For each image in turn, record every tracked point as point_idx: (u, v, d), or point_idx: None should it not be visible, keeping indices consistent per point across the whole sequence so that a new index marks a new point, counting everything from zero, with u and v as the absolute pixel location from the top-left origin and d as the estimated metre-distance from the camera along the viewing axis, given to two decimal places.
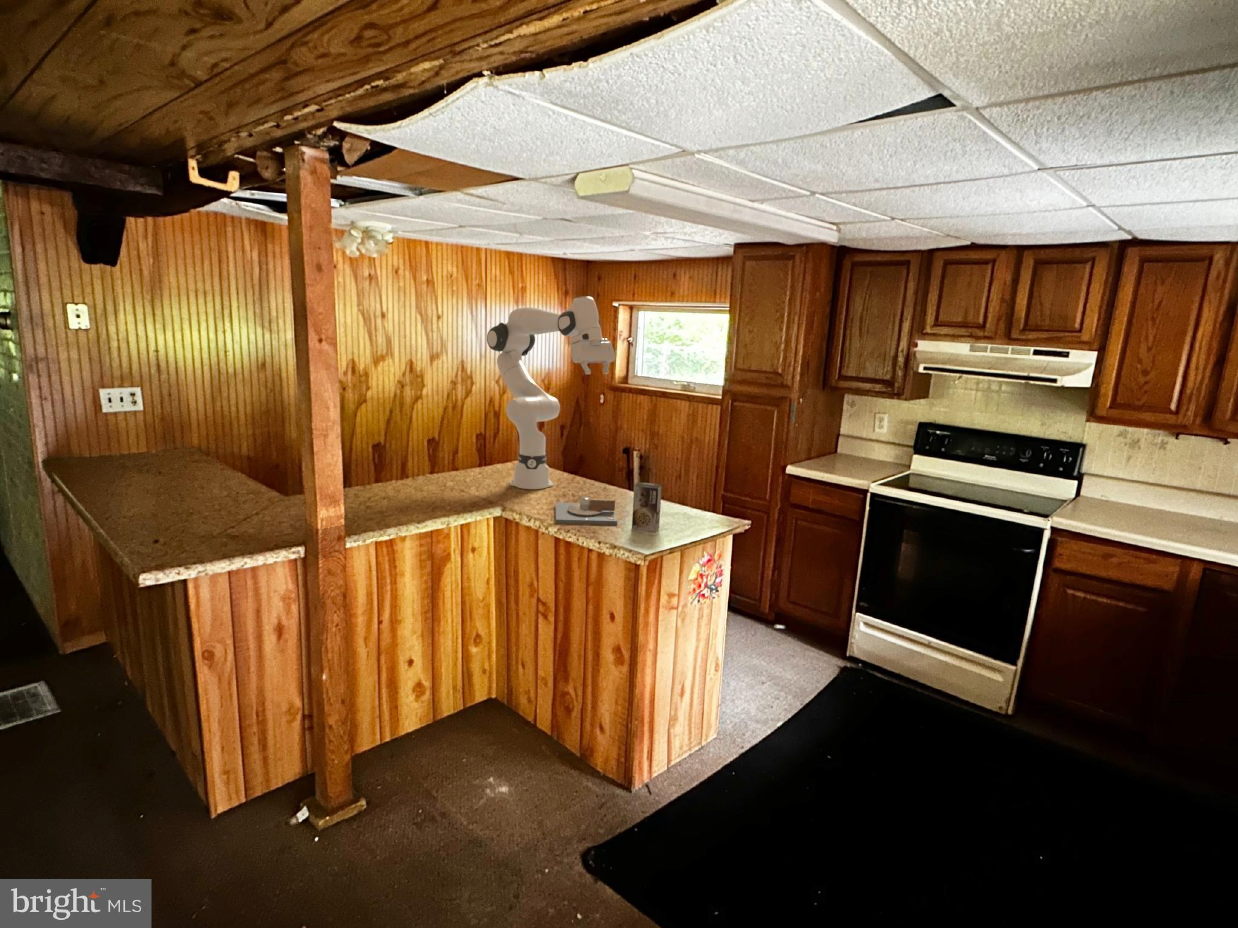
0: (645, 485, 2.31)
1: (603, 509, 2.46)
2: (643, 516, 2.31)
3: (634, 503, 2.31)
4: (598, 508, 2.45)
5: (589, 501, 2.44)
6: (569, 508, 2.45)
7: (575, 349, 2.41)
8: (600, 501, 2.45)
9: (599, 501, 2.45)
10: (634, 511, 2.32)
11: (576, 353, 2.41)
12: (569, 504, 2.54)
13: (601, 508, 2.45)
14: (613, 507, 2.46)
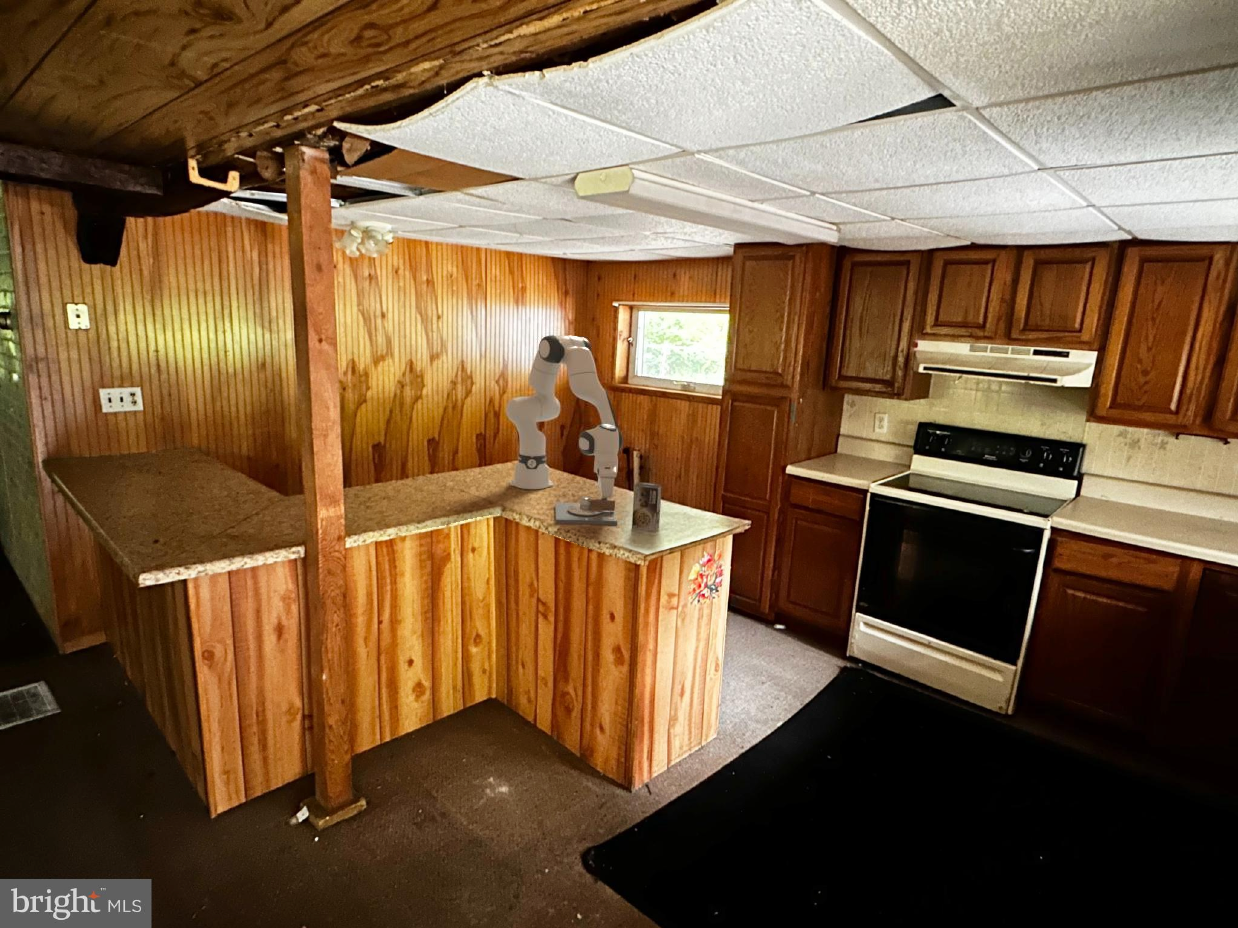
0: (645, 485, 2.31)
1: (603, 509, 2.46)
2: (643, 516, 2.31)
3: (634, 503, 2.31)
4: (598, 508, 2.45)
5: (589, 501, 2.44)
6: (569, 508, 2.45)
7: (609, 486, 2.37)
8: (600, 501, 2.45)
9: (599, 501, 2.45)
10: (634, 511, 2.32)
11: (610, 490, 2.37)
12: (569, 504, 2.54)
13: (601, 508, 2.45)
14: (613, 507, 2.46)
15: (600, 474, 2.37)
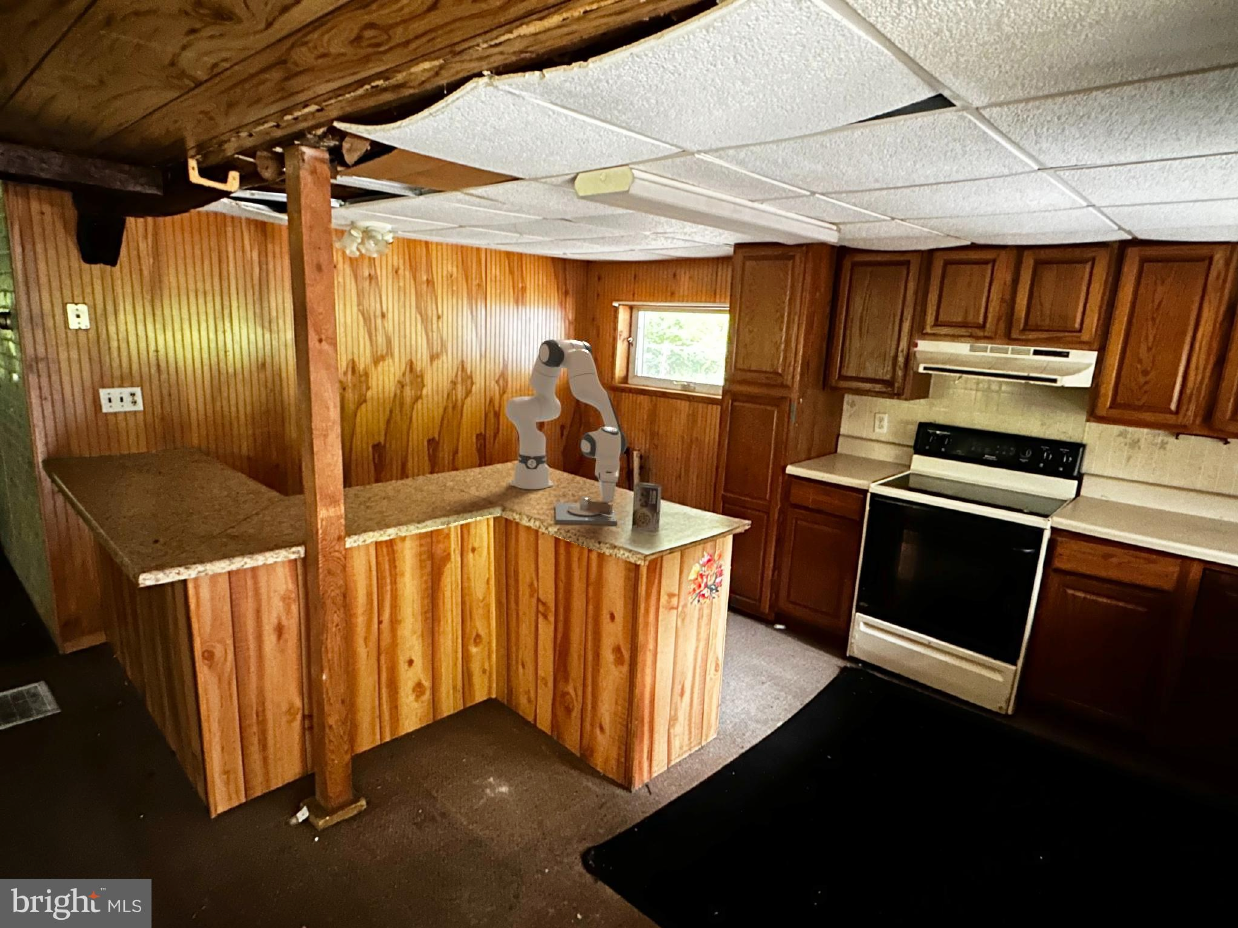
0: (645, 485, 2.31)
1: (599, 512, 2.42)
2: (643, 516, 2.31)
3: (634, 503, 2.31)
4: (595, 510, 2.43)
5: (586, 501, 2.43)
6: (571, 506, 2.48)
7: (610, 491, 2.33)
8: (597, 503, 2.42)
9: (596, 503, 2.42)
10: (634, 511, 2.32)
11: (611, 495, 2.33)
12: (569, 504, 2.54)
13: (598, 511, 2.42)
14: (608, 511, 2.40)
15: (601, 478, 2.33)
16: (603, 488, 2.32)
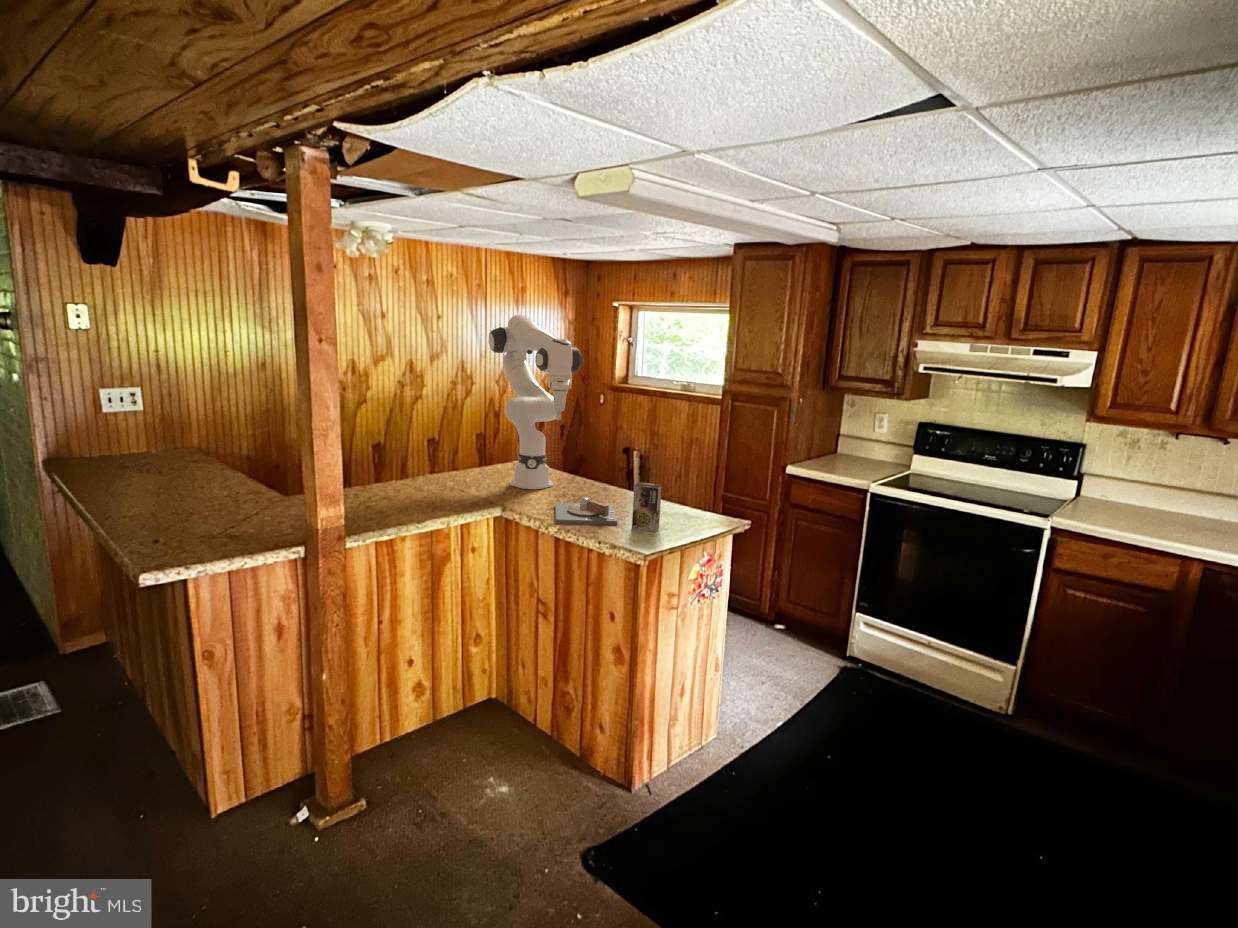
0: (645, 485, 2.31)
1: (596, 513, 2.41)
2: (643, 516, 2.31)
3: (634, 503, 2.31)
4: (592, 510, 2.42)
5: (585, 501, 2.43)
6: (573, 505, 2.49)
7: (561, 398, 2.38)
8: (594, 504, 2.41)
9: (593, 504, 2.41)
10: (634, 511, 2.32)
11: (563, 403, 2.38)
12: (569, 504, 2.54)
13: (595, 511, 2.41)
14: (603, 513, 2.38)
15: (552, 387, 2.38)
16: (554, 396, 2.38)
